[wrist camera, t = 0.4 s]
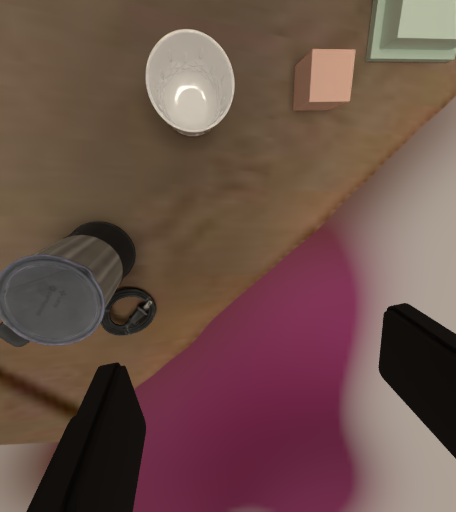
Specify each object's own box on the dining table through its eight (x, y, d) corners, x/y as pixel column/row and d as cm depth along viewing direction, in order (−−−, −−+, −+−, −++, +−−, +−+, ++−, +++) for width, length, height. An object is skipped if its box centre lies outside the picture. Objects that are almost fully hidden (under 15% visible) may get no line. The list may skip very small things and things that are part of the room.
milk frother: (85, 207, 34) (15, 235, 20) (187, 263, 39) (185, 317, 25) (43, 289, 37) (-45, 362, 23) (142, 332, 42) (118, 414, 28)
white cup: (230, 86, 32) (246, 52, 22) (211, 150, 34) (219, 144, 25) (167, 58, 30) (157, 10, 21) (152, 128, 32) (136, 113, 23)
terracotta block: (294, 66, 32) (312, 48, 27) (331, 66, 33) (355, 49, 28) (292, 110, 34) (309, 101, 29) (328, 110, 34) (349, 101, 30)
